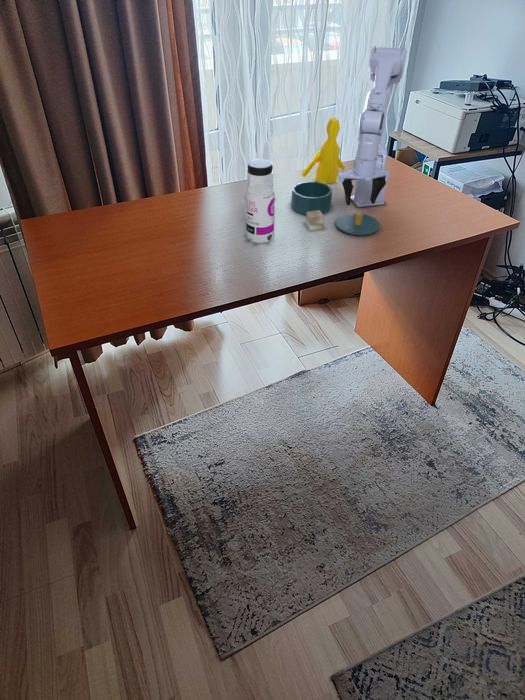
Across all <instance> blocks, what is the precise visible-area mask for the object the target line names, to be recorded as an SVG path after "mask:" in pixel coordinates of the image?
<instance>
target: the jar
mask: <svg viewBox="0 0 525 700" xmlns="http://www.w3.org/2000/svg"><path fill="white" fill-rule="evenodd" d="M256 184H264V185H268V186H270V187H272V190H273V191H274V172H273V162H272V161H271V160H269V159H266V158H255V159H251V160H249V161H248V162H247V170H246V185H247V187H246V189H247V190H248V188H249V187H250V186H252V185H256ZM247 190H246V191H247Z"/></svg>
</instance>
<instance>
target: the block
mask: <svg viewBox="0 0 525 700" xmlns="http://www.w3.org/2000/svg"><path fill="white" fill-rule="evenodd" d="M305 219H306V220H305V225H306V227H307V228H308V230H309V231H317V230H323V229H324V222H325V221H324V220H325V215H324V214H322V213H321V211H320V210H317V211H308V212H307V216H306V218H305Z"/></svg>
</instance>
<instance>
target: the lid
mask: <svg viewBox="0 0 525 700" xmlns="http://www.w3.org/2000/svg"><path fill="white" fill-rule="evenodd" d="M335 227H336V228H337V229H338V230H339V231H341V232H343V233H345V234H348V235H351V236H359V237H360V236H361V237H362V236H370V235H373V234H376V233H377V232H378V231H379V230H380V228H381V223H380V222H379V220H378V219H376V217H373V216H372V215H369V214H365V213H364V212H363V211H360V210H359V211H358V210H357V211H355V213H354V212H351V213H349V212H348V213H345V214H342V215H340V216H338V217H337V218H336V219H335Z"/></svg>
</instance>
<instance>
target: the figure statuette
mask: <svg viewBox="0 0 525 700" xmlns="http://www.w3.org/2000/svg"><path fill="white" fill-rule="evenodd" d="M340 129H341V126H340V121H339V119H337V118H336V117H333V118H329V119H328V122H327V125H326V135H327V138H326V140H325V142H324V143H323V145H322V146H321V147H320V150H319V151H317V152H316V154H315V155H314V157H313V159H312V160H311V162H310V163H309V164H308V165H307V166H306V168H304V170H303V171H302V172H301V173H300V175H301V176H302V177H304V178H305V177H306V176H307V175H308V174H309V173H310V171H311V170H312V169H313V168H314V166H315V165H316V164H317V168H316V171H315V177H314V182H321V183H324V184H327V185H328V184H333V183H335V182H336V181H337V180H338V177H339V168H340V169H341V171H344V170H345V168H346V167H345V165H344V163H343V162H342V160H341V159H340V157H339V156H340V153H341V147H340V146H339V144H338V142H337V137H338V135H339V132H340Z"/></svg>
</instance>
